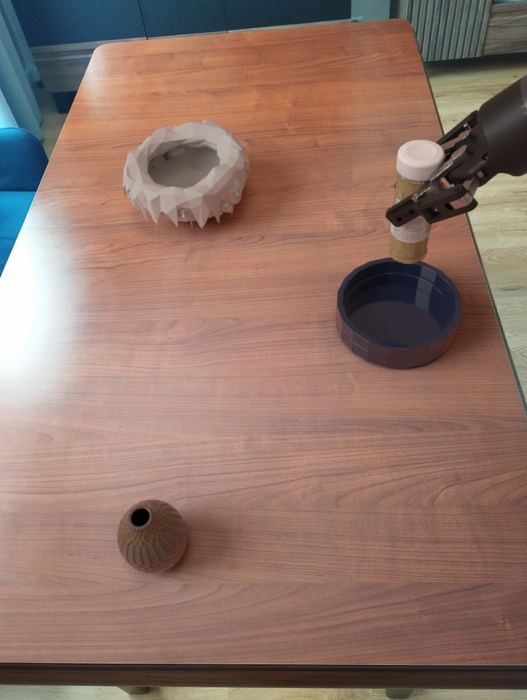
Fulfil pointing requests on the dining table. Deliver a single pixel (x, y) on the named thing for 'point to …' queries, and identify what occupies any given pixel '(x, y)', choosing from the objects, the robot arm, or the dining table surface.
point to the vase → (152, 536)
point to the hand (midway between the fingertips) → (395, 204)
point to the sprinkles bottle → (411, 176)
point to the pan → (398, 312)
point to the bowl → (186, 173)
